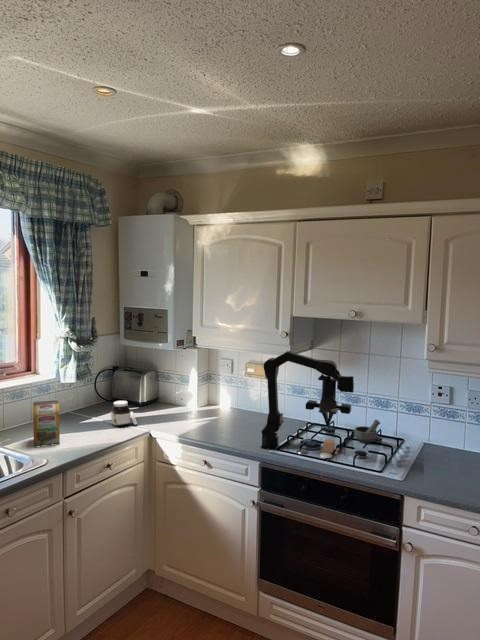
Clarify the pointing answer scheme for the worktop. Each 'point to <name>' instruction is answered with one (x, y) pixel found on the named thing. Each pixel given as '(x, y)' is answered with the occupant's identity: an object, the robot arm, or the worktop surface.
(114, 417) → the spread jar
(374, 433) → the mortar and pestle
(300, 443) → the selector rail
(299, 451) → the steel puck
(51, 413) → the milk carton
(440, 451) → the worktop surface
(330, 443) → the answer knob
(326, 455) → the ceramic puck
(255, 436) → the worktop surface
